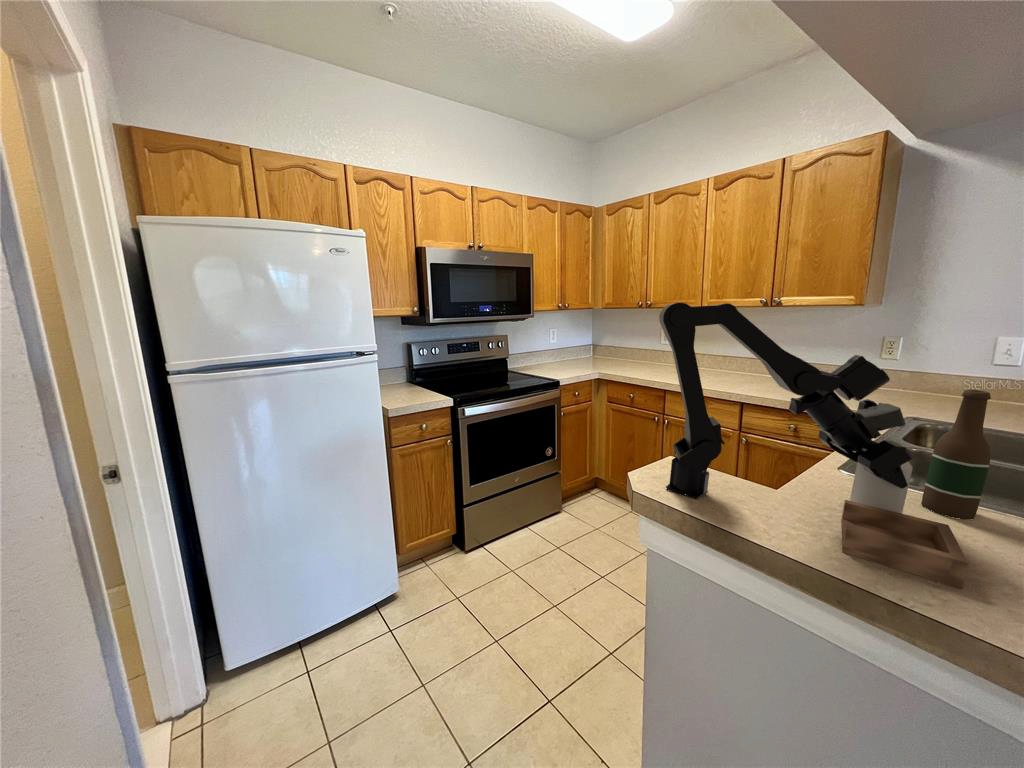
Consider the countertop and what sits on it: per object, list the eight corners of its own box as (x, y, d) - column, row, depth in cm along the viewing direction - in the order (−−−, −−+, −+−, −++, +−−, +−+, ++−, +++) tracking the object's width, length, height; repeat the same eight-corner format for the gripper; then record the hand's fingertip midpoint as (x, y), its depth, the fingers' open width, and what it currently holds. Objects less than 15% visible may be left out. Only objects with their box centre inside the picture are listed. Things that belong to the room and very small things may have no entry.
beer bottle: (928, 514, 76) (958, 392, 72) (912, 497, 83) (938, 385, 79) (986, 525, 73) (1021, 397, 68) (964, 507, 80) (995, 389, 75)
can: (907, 526, 72) (922, 463, 69) (853, 515, 75) (866, 455, 73) (893, 508, 78) (906, 450, 76) (844, 499, 82) (855, 443, 79)
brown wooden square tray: (842, 552, 63) (846, 529, 63) (841, 519, 73) (845, 499, 73) (961, 588, 55) (968, 563, 55) (942, 547, 65) (948, 524, 65)
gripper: (911, 400, 64) (978, 473, 64) (846, 380, 82) (898, 437, 81) (845, 441, 67) (909, 511, 67) (796, 413, 85) (846, 468, 85)
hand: (890, 478), depth 75 cm, fingers closed on can, 7 cm apart
